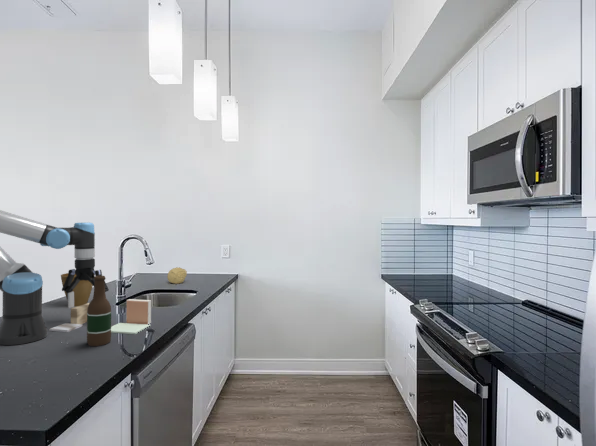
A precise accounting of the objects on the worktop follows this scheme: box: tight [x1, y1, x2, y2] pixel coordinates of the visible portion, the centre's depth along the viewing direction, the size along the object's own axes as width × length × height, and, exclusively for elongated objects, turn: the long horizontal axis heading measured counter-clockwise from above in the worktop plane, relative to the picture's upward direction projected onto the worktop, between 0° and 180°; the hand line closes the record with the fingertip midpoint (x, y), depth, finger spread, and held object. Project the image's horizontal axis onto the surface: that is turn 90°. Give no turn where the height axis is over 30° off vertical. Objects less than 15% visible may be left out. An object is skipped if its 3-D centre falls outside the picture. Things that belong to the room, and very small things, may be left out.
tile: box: [125, 298, 152, 325], centre depth 157 cm, size 2×10×10 cm, turn 82°
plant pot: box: [60, 272, 95, 308], centre depth 188 cm, size 15×15×16 cm
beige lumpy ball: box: [167, 266, 188, 285], centre depth 256 cm, size 11×12×11 cm
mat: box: [111, 322, 152, 335], centre depth 150 cm, size 11×14×1 cm
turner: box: [49, 302, 90, 333], centre depth 155 cm, size 20×8×7 cm, turn 172°
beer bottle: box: [86, 275, 112, 347], centre depth 133 cm, size 8×8×24 cm
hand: (85, 307), depth 159 cm, fingers open, 13 cm apart
